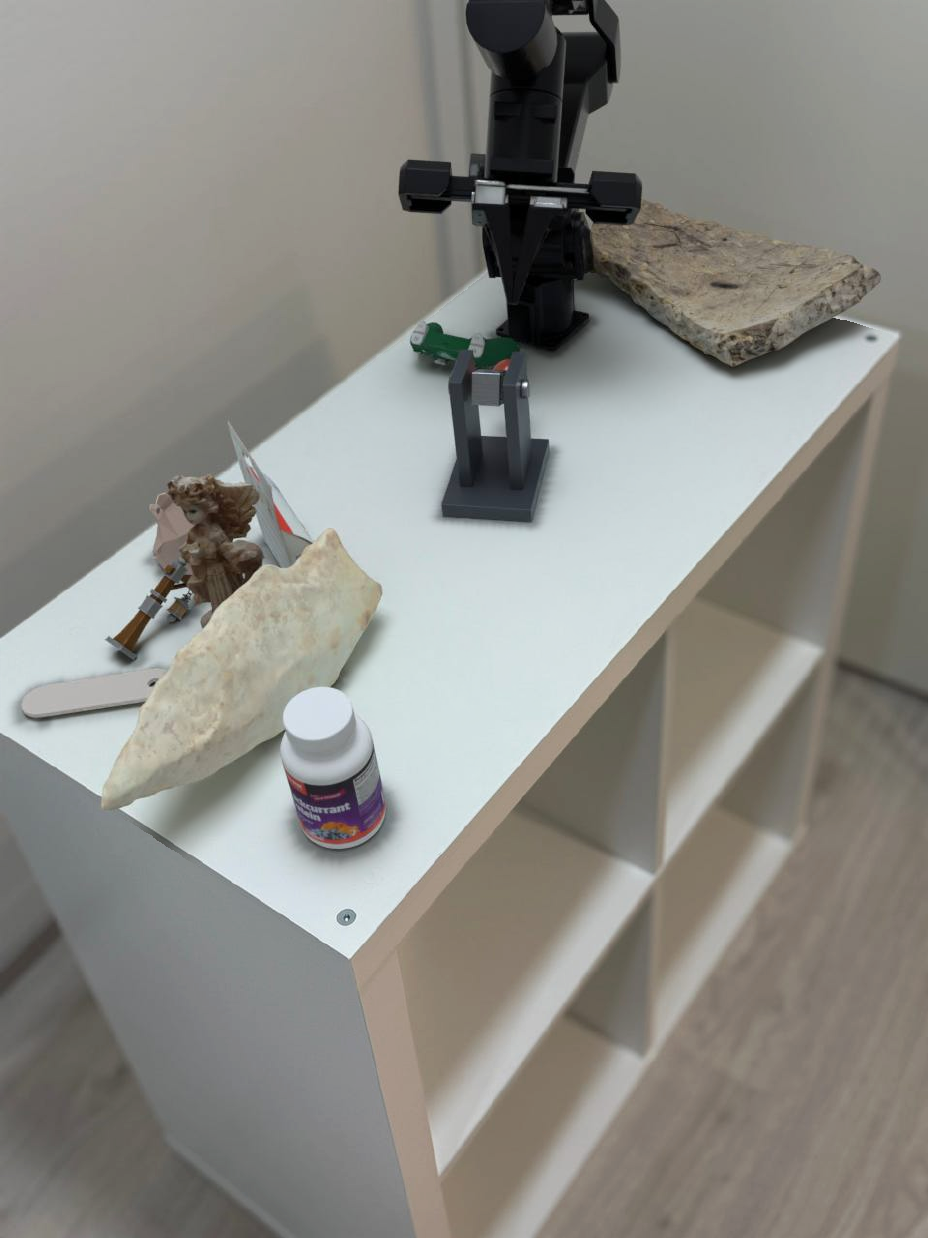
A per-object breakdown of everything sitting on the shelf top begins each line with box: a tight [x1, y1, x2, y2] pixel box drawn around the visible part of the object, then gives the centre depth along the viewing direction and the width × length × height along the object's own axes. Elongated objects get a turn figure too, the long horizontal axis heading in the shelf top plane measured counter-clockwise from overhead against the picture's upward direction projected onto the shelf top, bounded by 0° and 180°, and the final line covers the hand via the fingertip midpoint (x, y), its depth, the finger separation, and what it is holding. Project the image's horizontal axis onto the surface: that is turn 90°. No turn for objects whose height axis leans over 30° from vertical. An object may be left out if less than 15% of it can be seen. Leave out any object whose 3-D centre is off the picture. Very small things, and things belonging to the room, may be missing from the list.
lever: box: [471, 359, 529, 407], centre depth 97 cm, size 11×3×3 cm, turn 168°
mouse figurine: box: [149, 492, 195, 576], centre depth 93 cm, size 5×8×7 cm, turn 58°
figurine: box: [166, 472, 266, 629], centre depth 83 cm, size 7×6×15 cm
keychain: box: [20, 667, 168, 719], centre depth 86 cm, size 10×1×3 cm
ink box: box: [226, 420, 315, 568], centre depth 90 cm, size 3×9×12 cm, turn 26°
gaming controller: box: [409, 319, 521, 369], centre depth 111 cm, size 9×4×6 cm
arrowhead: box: [100, 527, 383, 811], centre depth 79 cm, size 10×6×25 cm
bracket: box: [440, 350, 551, 523], centre depth 96 cm, size 9×7×11 cm
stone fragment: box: [589, 198, 882, 367], centre depth 115 cm, size 28×6×20 cm
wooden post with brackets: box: [104, 557, 194, 661], centre depth 90 cm, size 2×8×4 cm, turn 139°
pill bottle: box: [279, 686, 387, 850], centre depth 74 cm, size 5×5×10 cm
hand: (512, 303), depth 99 cm, fingers closed
